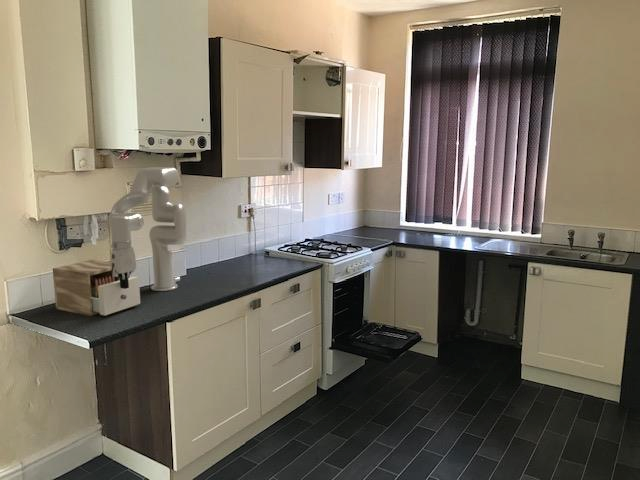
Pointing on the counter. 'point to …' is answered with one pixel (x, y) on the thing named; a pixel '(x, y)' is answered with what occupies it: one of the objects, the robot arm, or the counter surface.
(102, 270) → the cabinet
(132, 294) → the drawer
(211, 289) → the counter surface
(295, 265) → the counter surface
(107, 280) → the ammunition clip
